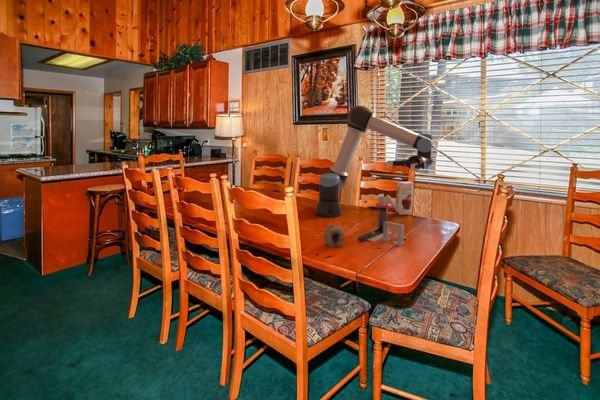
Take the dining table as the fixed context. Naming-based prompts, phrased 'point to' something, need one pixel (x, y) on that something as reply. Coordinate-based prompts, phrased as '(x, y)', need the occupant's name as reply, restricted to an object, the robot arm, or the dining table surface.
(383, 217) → the hook
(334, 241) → the grey round lumpy ball
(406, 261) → the dining table surface
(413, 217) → the dining table surface
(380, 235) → the pad
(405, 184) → the juice carton
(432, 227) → the dining table surface
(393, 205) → the wall hook
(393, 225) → the grey u-shaped bracket
